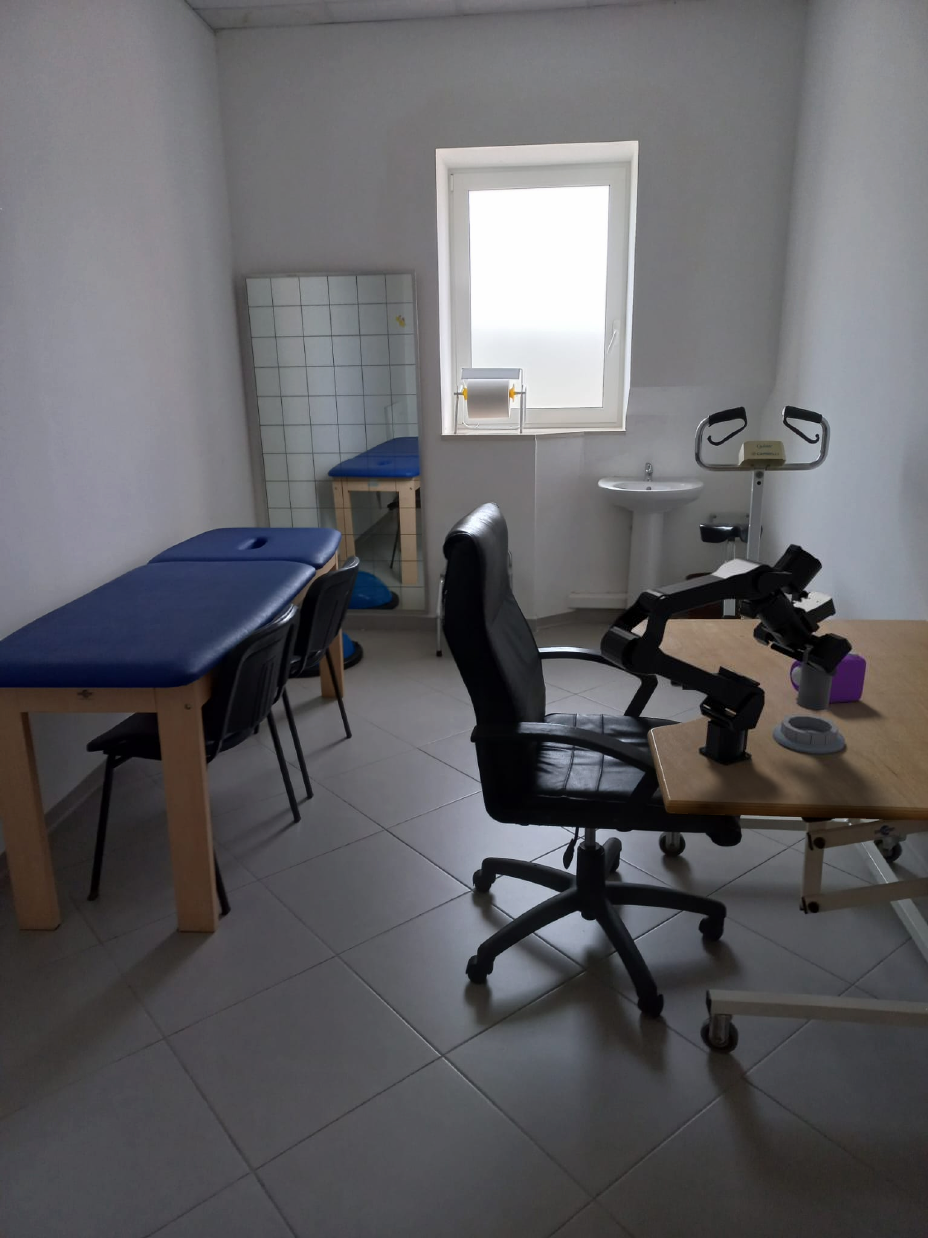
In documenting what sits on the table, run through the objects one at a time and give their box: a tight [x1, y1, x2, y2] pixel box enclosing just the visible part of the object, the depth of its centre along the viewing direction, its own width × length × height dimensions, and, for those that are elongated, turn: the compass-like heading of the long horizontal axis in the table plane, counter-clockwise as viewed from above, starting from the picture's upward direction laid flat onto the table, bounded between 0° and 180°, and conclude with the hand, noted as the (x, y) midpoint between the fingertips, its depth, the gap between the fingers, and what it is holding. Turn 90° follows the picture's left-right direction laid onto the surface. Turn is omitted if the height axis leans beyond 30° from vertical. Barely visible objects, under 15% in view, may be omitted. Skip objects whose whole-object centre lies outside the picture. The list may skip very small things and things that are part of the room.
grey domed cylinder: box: [796, 636, 832, 711], centre depth 150 cm, size 5×5×12 cm
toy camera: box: [789, 650, 867, 704], centre depth 173 cm, size 11×14×10 cm
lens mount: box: [772, 714, 846, 755], centre depth 153 cm, size 12×12×3 cm
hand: (823, 669), depth 150 cm, fingers closed on grey domed cylinder, 5 cm apart
